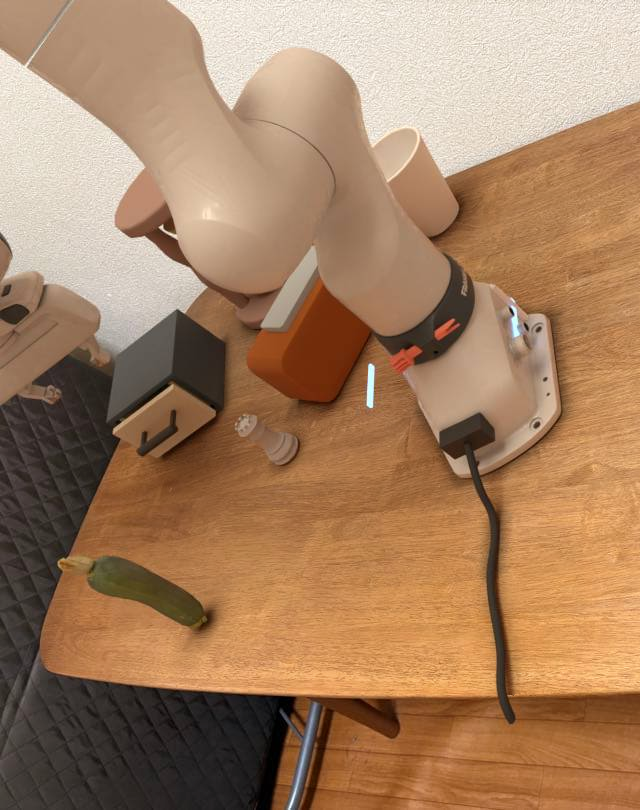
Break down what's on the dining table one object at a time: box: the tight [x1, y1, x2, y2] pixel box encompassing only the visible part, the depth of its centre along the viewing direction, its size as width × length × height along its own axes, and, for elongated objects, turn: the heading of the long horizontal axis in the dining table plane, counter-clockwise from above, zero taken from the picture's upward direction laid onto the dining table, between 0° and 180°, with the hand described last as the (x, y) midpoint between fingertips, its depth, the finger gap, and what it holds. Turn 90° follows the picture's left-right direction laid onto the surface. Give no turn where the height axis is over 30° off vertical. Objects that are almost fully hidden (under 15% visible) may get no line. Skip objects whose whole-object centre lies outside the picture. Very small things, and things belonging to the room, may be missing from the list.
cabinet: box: [105, 308, 226, 429], centre depth 132 cm, size 16×14×10 cm
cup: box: [371, 125, 460, 238], centre depth 118 cm, size 12×12×12 cm
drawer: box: [112, 379, 217, 459], centre depth 128 cm, size 19×12×8 cm, turn 17°
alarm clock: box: [246, 242, 372, 403], centre depth 115 cm, size 24×8×11 cm, turn 155°
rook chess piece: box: [234, 413, 299, 466], centre depth 110 cm, size 4×4×8 cm
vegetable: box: [57, 555, 208, 630], centre depth 96 cm, size 4×4×20 cm
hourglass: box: [114, 166, 287, 330], centre depth 129 cm, size 18×18×25 cm
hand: (81, 380), depth 115 cm, fingers open, 8 cm apart
